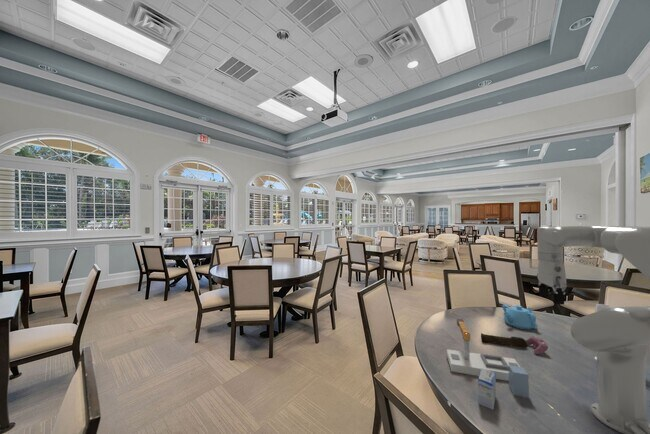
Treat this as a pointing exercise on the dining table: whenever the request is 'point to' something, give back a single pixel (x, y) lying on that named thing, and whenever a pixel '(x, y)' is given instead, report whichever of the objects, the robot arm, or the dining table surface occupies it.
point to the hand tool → (505, 340)
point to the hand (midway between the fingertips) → (550, 299)
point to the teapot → (519, 317)
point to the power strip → (479, 363)
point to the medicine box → (487, 388)
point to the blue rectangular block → (518, 381)
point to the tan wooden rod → (463, 329)
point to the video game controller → (537, 344)
